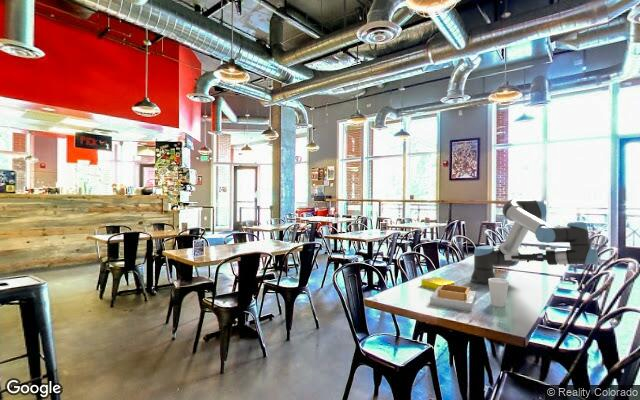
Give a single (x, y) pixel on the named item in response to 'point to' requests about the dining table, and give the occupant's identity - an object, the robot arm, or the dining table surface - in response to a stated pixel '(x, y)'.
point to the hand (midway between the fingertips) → (508, 258)
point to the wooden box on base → (453, 297)
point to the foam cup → (498, 291)
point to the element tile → (435, 282)
